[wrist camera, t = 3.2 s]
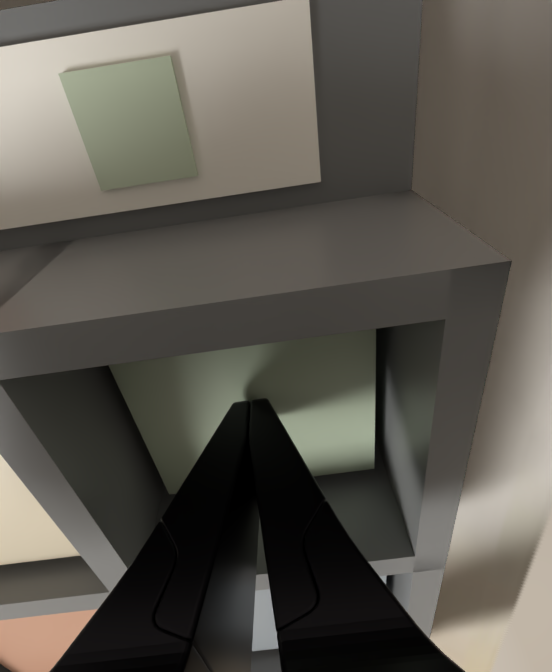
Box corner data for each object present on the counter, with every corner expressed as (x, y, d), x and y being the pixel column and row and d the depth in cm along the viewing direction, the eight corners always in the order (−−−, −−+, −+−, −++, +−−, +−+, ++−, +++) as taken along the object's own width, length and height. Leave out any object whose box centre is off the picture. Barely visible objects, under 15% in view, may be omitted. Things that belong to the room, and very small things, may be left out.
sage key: (362, 429, 12) (374, 468, 11) (177, 453, 13) (169, 494, 11) (360, 252, 9) (376, 280, 8) (109, 288, 9) (87, 320, 8)
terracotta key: (183, 613, 16) (177, 659, 14) (38, 629, 16) (19, 677, 15) (133, 531, 12) (120, 582, 11) (-50, 553, 12) (-83, 606, 11)
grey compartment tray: (380, 526, 19) (421, 672, 14) (56, 565, 19) (-7, 718, 15) (397, -39, 8) (615, -215, 3) (-368, 89, 8) (-1164, 103, 4)
